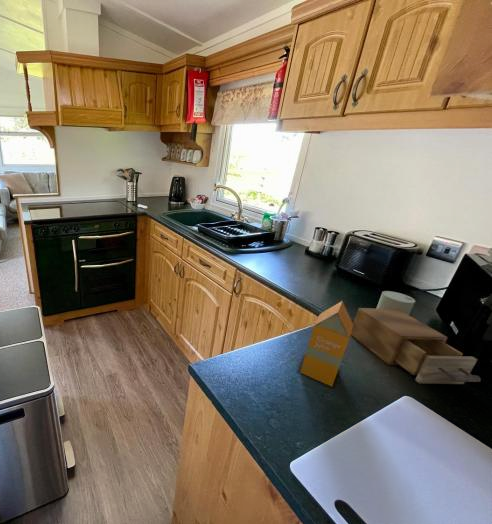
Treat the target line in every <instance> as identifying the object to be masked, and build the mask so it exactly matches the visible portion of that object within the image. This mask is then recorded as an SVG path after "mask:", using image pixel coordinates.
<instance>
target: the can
mask: <svg viewBox="0 0 492 524" xmlns="http://www.w3.org/2000/svg"><path fill="white" fill-rule="evenodd" d="M415 304H416V299H414V298H413V297H411V296H409V295H407V294H404V293H400V292H396V291H393V290H392V291H391V290H384V291H381V295H380V297H379V300H378V303H377V306H376V307H375V309H399V310H400V311H402V312H404V313H406V314H407V315H409V316H410V315H411V312H412V310H413V308H414V305H415Z"/></svg>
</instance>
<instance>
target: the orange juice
mask: <svg viewBox="0 0 492 524" xmlns="http://www.w3.org/2000/svg"><path fill="white" fill-rule="evenodd" d="M352 329H353V322H352V320H351V317H350V314H349V312H348V310H347V308H346V306H345V304H344V302H343V300H341V301H339V302H338V303H336V304H334V305H333V306H331V307H329V308H328V309H326V310H324V311H322V312H320V313H319V315H318V317H317V319H316V321H315V322H314V324H313V327H312V331H311V334H310V338H309V342H308V345H307V348H306V351H305V354H304V359H303V361H302V365H301V368H300V371H299V373H300V374H303V375H305V376H307V377H309V378H312V379H314V380H316V381H318V382H320V383H322V384H325V385H327V386H329V387H332V388H333V385H334V382H335V379H336V377H337V374H338V371H339V369H340V366H341V363H342V361H343V357H344V354H345V353H346V350H347V347H348V344H349V342H350V339H351V336H352V335H351V332H352Z"/></svg>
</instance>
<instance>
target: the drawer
mask: <svg viewBox="0 0 492 524" xmlns="http://www.w3.org/2000/svg"><path fill="white" fill-rule="evenodd" d="M463 355H464V353H463V352H461V351H459V350H458V349H457V348H454V347H453V346H451V345H449V344H448V343H446V342H445V343H444V342H442V341H441V340H431V339H403V340H402V343H401V345H400V347H399V349H398V352H397V354H396V356H395V358H394V361H395V362H397V363H398V364H399V365H398V366H400V367H402V368H403V369H405V371H407V372H408V373H410V374H411V375H412V376H416V377H415V379H414V381H415V382H417V383H418V384H430V385H431V384H434V385H437V384H438V385H439V384H441V385H465V383H480V382H481V381H482V379H481V377H480V376H479V375H475V374H472V373H471V372H472V371H473V368H474V367H475V365H476V364H477V361H478V358H476V357H474V356H466V355H465V356H463Z"/></svg>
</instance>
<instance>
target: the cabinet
mask: <svg viewBox="0 0 492 524" xmlns="http://www.w3.org/2000/svg"><path fill="white" fill-rule="evenodd" d="M352 323H353V329H352V332H351V336H352V337H353V338H355V339H356V340H357V341H358V342H360V343H361V344H362V345H363V346H365V347H366V348H367V349H368V350H370V352H372V353H374V354H375V355H376V356H377V357H378V358H379V359H381V360H382V361H383V362H385V364H387V365H389V366H400V365H399V364H398V363H397V362H395V361H394V358H395V356H396V354H397V352H398V349H399V347H400V345H401V343H402V340H403V339H431V340H441V341H442V342H444V343H446V342H447V339H448V336H446V335H444V334H442V333H440V332H439V331H438V330H436V329H434V328H432V327H431V326H428V325H427V324H425V323H424V322H421V321H419V320H418V319H416V318H414V317H413V316H411V315H410V314H409V315H407V314H406V313H404V312H402V311H400V310H399V309H376V307H375V308H372V307H371V308H370V307H358V309H357V311H356V314H355V317H354V319H353V322H352Z"/></svg>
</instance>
